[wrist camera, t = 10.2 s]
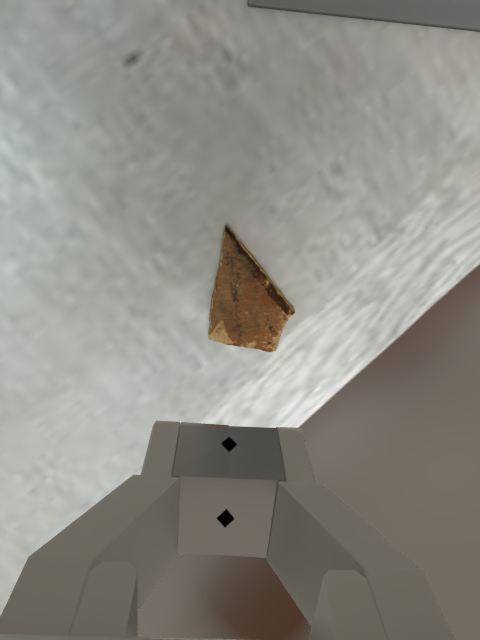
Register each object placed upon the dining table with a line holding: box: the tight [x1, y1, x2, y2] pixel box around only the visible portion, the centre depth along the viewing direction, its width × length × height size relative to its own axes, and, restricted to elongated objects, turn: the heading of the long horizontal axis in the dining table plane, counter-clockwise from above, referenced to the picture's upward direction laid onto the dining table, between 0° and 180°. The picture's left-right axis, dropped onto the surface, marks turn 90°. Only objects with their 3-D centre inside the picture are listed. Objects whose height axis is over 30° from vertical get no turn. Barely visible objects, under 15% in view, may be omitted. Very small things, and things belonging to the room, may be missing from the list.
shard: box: [208, 226, 295, 352], centre depth 40 cm, size 11×8×2 cm
